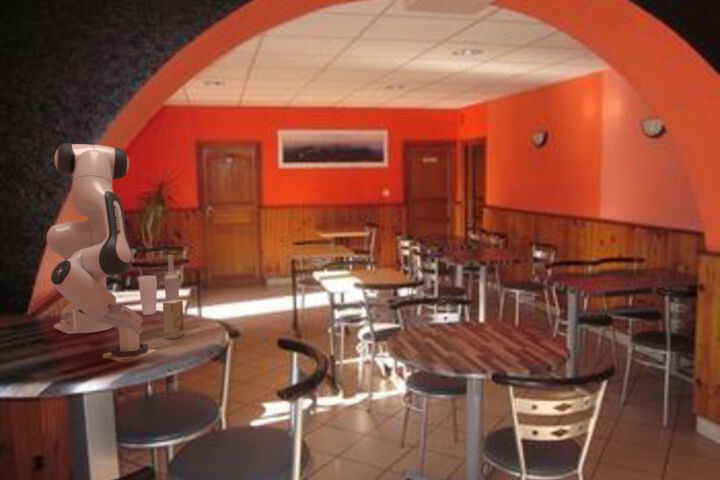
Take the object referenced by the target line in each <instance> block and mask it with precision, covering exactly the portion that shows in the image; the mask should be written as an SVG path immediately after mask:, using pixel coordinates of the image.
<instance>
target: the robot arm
mask: <svg viewBox="0 0 720 480" xmlns="http://www.w3.org/2000/svg"><path fill="white" fill-rule="evenodd" d="M53 157H54V158H53V159H54V160H53V161H54V166H55V167H56V170H57V172H59V174H61V175H63V176H67V177H71V176H72V186H71V188H72V190H71V206H72V208H73V210H74V211H75V212H76V213H78V214H80V215H82V216H84V217H86V218H88V220H85V221H68V222H67V221H66V222H62V223H57V224H53V225H51V227H50V228H49V229H48V231H47V233H46V242H47V245H48V247H49V249H50V250H51V251H52V252H53V253H55V254H57V255H59V256H60V257H61V258H62V259H63V261H60V262H59V263H58V264H57V265H56V266H55V267H54V269H53V270H52V272H51V275H50V281H51V283H52V285H53V287H54V288H55V289H56V290H57V291H58V292H59V293H60V294H61V295H62V296H63V297H65V298H66V299H67V300H68V301H69V303H68V304H67V305H66V306H65V307H64V308H63V309H62V310H61V311H60V314H59V318H60V322H58V323H56V324H53V328H54V329H55V330H57V331H61V332H62V333H65V334H66V335H75V334H89V333H97V332H102V331H106V330H110V329H112V328H115V329H116V330H118V331H119V326H121V327H126V328H130V329H134V331H135V332H136V333H138V334H139V335H141V334H142V333H143V331H144V328H143V327H141V325H142V323H143V321H144V318H143V317H141V315H139V314H138V313H136V312H135V311H133V310H132V309H131V308H130V307H128V306H126V305H120V304H117V303H116V302H117V297H116V295H115V294H113V293H112V292H111V291H110V290H109V289H108V288H107V287H108V286H107V277H110V276H117V275H122V274H125V273H127V272H128V271H129V269H130V267H131V265H132V262H133V251H132V250H131V246H130V244H129V240H128V233H127V227H126V220H125V213H124V209H123V203H122V201H121V198H120V197H119V195H118V194H117V193H115V192H114V189H113V180H121V179H123V178H124V177H126V175H127V172H128V171H129V168H130V159H129V157H128V154H127V152H126V150H124V149H123V148H119V147H116V146H115V147H111V146H107V145H101V144H87V143H85V144H84V143H83V144H82V143H77V144H76V143H74V144H73V143H71V142H68V143H61V144H60V145H59V146H57V149H56V151H55V154H54V156H53Z"/></svg>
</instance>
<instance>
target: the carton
mask: <svg viewBox="0 0 720 480" xmlns="http://www.w3.org/2000/svg"><path fill="white" fill-rule="evenodd" d="M118 333H119V335H118V336H119V345H120V351H134V350H138V349H140V344H139V343H140V334H138V333H136V332H135V331H134V329H130V328H126V327H121V326H119V330H118Z"/></svg>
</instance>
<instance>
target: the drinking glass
mask: <svg viewBox="0 0 720 480" xmlns="http://www.w3.org/2000/svg"><path fill="white" fill-rule="evenodd" d="M157 281H158V280H157V275H144V276H143V275H142V276H139V277H138V288H139V289H138V290H139V296H140V303H141V313H142V315H144V316H151V315H155V314H156V313H157V294H158V292H157V291H158V282H157Z"/></svg>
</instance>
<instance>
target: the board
mask: <svg viewBox="0 0 720 480" xmlns="http://www.w3.org/2000/svg"><path fill="white" fill-rule="evenodd" d="M139 344H140V349H138V350H134V351H120V344H119V345H115V346H113V347H112V349H111V350H110V351H109V352H106V353H103V354H102V357H103V358H104V359H109V360H113V361H117V362H120V363H125V364H128V363H130V362H133V361H134V362H135V361H137V360H140V359H144V358H147V357H150V356H153V355H157V354H158V350H157V349H152V348H149V344H147V343H143V342H139Z"/></svg>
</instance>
